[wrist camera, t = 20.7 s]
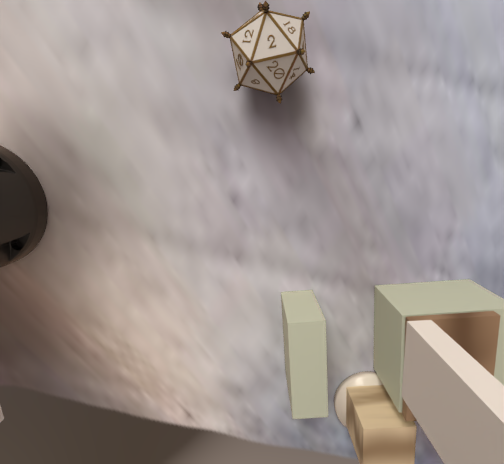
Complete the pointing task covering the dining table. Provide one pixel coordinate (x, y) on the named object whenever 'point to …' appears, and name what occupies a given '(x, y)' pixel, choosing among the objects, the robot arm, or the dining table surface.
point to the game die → (269, 51)
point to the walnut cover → (466, 338)
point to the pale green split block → (385, 336)
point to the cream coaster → (354, 380)
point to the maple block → (378, 427)
